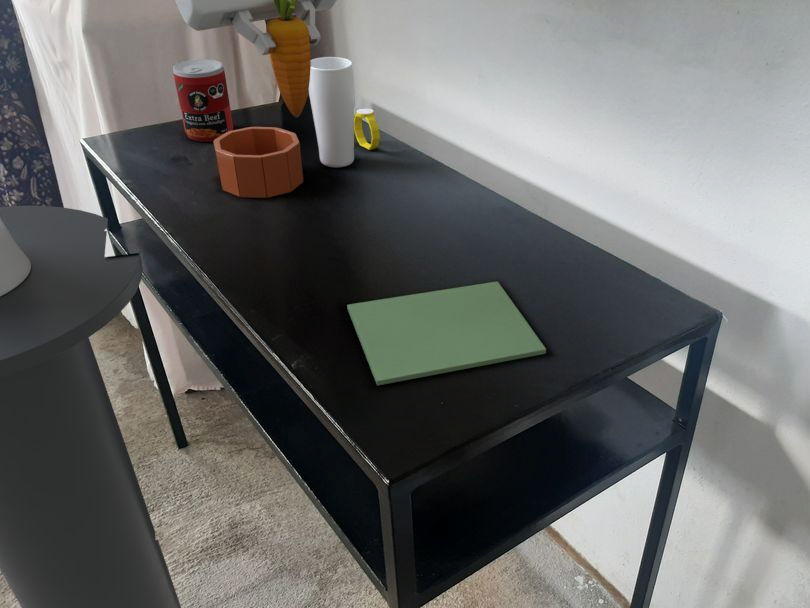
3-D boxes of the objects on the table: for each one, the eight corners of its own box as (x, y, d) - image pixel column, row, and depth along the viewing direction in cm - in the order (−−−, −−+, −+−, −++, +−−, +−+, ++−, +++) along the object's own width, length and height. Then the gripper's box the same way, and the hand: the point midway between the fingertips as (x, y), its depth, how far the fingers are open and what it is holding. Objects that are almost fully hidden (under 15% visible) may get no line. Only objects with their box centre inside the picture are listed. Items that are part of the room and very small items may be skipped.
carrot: (281, 109, 92) (266, -22, 83) (320, 111, 92) (309, -20, 83) (271, 123, 88) (254, -13, 79) (312, 125, 88) (299, -11, 79)
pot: (224, 202, 101) (217, 161, 98) (218, 168, 110) (211, 129, 107) (308, 193, 105) (304, 153, 101) (295, 161, 114) (291, 123, 110)
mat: (377, 385, 71) (376, 381, 70) (347, 309, 81) (347, 304, 81) (545, 353, 76) (546, 349, 75) (497, 285, 86) (497, 281, 86)
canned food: (181, 142, 118) (166, 73, 111) (192, 125, 124) (179, 58, 118) (229, 143, 119) (218, 73, 112) (237, 125, 125) (227, 59, 118)
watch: (384, 151, 118) (383, 115, 114) (369, 155, 117) (367, 118, 113) (365, 139, 122) (363, 104, 118) (350, 143, 120) (348, 107, 117)
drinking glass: (328, 151, 117) (320, 54, 108) (366, 158, 116) (361, 60, 107) (307, 166, 112) (297, 66, 103) (347, 173, 110) (340, 72, 101)
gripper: (153, -74, 75) (220, 45, 76) (313, -85, 87) (370, 17, 88) (142, -33, 80) (205, 79, 81) (295, -49, 92) (349, 48, 93)
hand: (292, 47), depth 85 cm, fingers closed on carrot, 5 cm apart
